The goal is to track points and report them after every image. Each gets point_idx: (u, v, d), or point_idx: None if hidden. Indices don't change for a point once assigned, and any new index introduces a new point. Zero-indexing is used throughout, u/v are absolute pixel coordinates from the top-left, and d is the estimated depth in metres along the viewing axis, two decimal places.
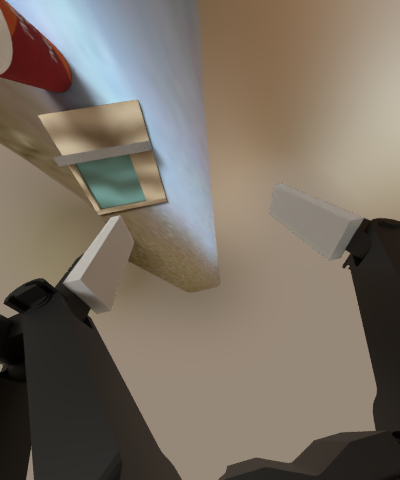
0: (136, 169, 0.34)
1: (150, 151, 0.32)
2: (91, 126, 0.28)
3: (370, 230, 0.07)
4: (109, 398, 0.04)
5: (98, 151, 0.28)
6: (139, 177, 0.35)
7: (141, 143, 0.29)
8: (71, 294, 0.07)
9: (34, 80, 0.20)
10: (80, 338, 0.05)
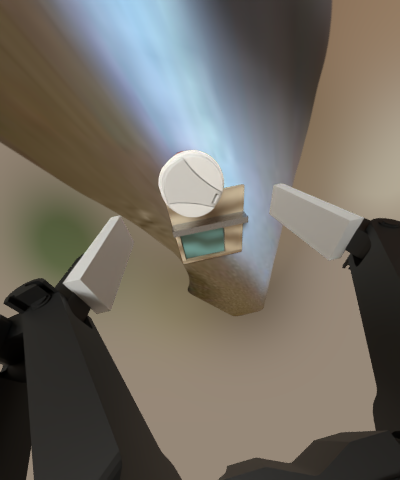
0: (225, 231, 0.39)
1: None
2: None
3: (370, 230, 0.07)
4: (108, 398, 0.04)
5: (208, 225, 0.34)
6: (226, 236, 0.40)
7: (243, 218, 0.34)
8: (71, 294, 0.07)
9: None
10: (80, 338, 0.05)
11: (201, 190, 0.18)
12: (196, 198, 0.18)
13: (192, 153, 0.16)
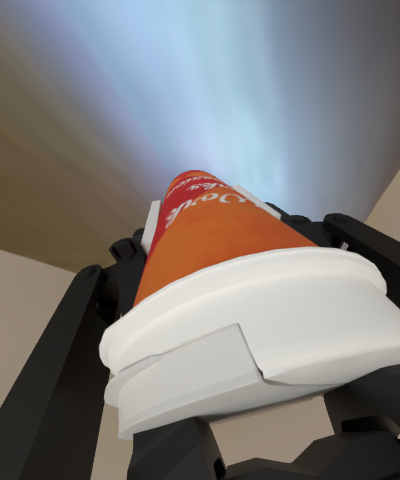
0: None
1: None
2: None
3: None
4: None
5: None
6: None
7: None
8: (144, 254, 0.08)
9: None
10: None
11: (298, 396, 0.04)
12: None
13: (298, 277, 0.02)
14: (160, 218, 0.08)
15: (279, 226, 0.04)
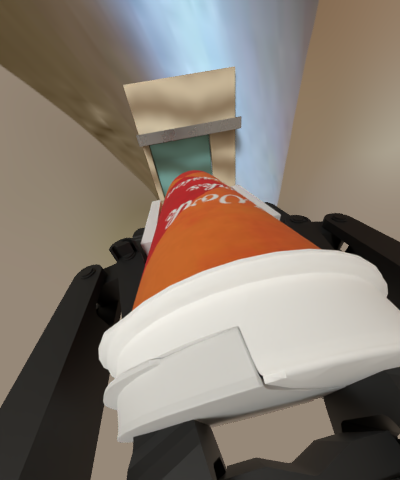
0: (213, 152, 0.30)
1: (233, 131, 0.28)
2: (177, 99, 0.25)
3: None
4: None
5: (186, 128, 0.25)
6: (214, 162, 0.31)
7: (234, 119, 0.25)
8: (144, 254, 0.08)
9: None
10: None
11: (299, 399, 0.04)
12: None
13: (299, 280, 0.02)
14: (160, 219, 0.08)
15: (279, 227, 0.04)
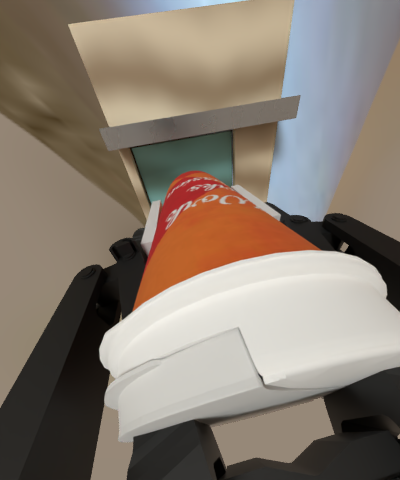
0: (237, 160, 0.18)
1: (274, 125, 0.17)
2: (181, 61, 0.13)
3: None
4: None
5: (197, 116, 0.13)
6: (237, 175, 0.19)
7: (286, 101, 0.13)
8: (144, 254, 0.08)
9: None
10: None
11: (299, 399, 0.04)
12: None
13: (299, 281, 0.02)
14: (160, 219, 0.08)
15: (279, 228, 0.04)
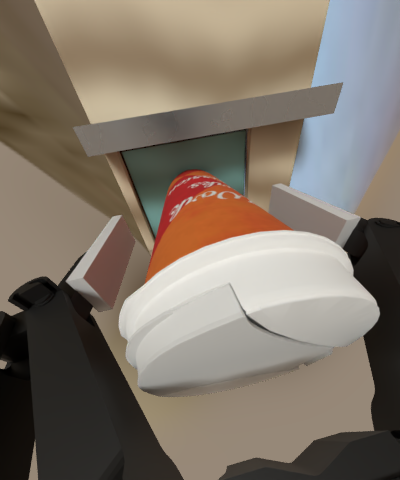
0: (252, 166, 0.15)
1: (299, 123, 0.13)
2: (184, 37, 0.10)
3: (367, 230, 0.07)
4: (111, 396, 0.04)
5: (206, 110, 0.10)
6: (251, 184, 0.16)
7: (324, 90, 0.10)
8: (74, 292, 0.07)
9: None
10: (83, 336, 0.05)
11: (282, 358, 0.05)
12: (256, 367, 0.05)
13: (275, 252, 0.03)
14: (163, 214, 0.09)
15: (267, 218, 0.05)
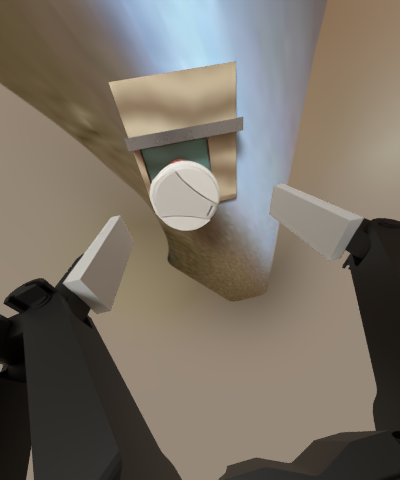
0: (212, 157, 0.27)
1: (233, 133, 0.26)
2: (171, 98, 0.22)
3: (370, 230, 0.07)
4: (109, 398, 0.04)
5: (181, 130, 0.22)
6: (213, 167, 0.28)
7: (235, 120, 0.22)
8: (71, 294, 0.07)
9: None
10: (80, 338, 0.05)
11: (195, 202, 0.17)
12: (190, 210, 0.17)
13: (184, 164, 0.15)
14: None
15: None
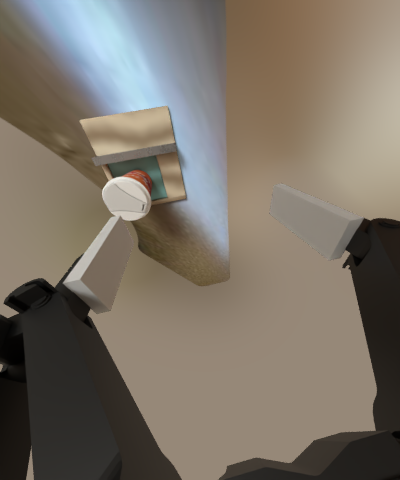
0: (161, 168, 0.37)
1: (175, 152, 0.35)
2: (125, 129, 0.31)
3: (370, 230, 0.07)
4: (109, 398, 0.04)
5: (131, 151, 0.31)
6: (163, 176, 0.38)
7: (169, 145, 0.32)
8: (71, 294, 0.07)
9: None
10: (80, 338, 0.05)
11: (131, 202, 0.26)
12: (129, 207, 0.27)
13: (121, 179, 0.25)
14: None
15: (130, 177, 0.27)
